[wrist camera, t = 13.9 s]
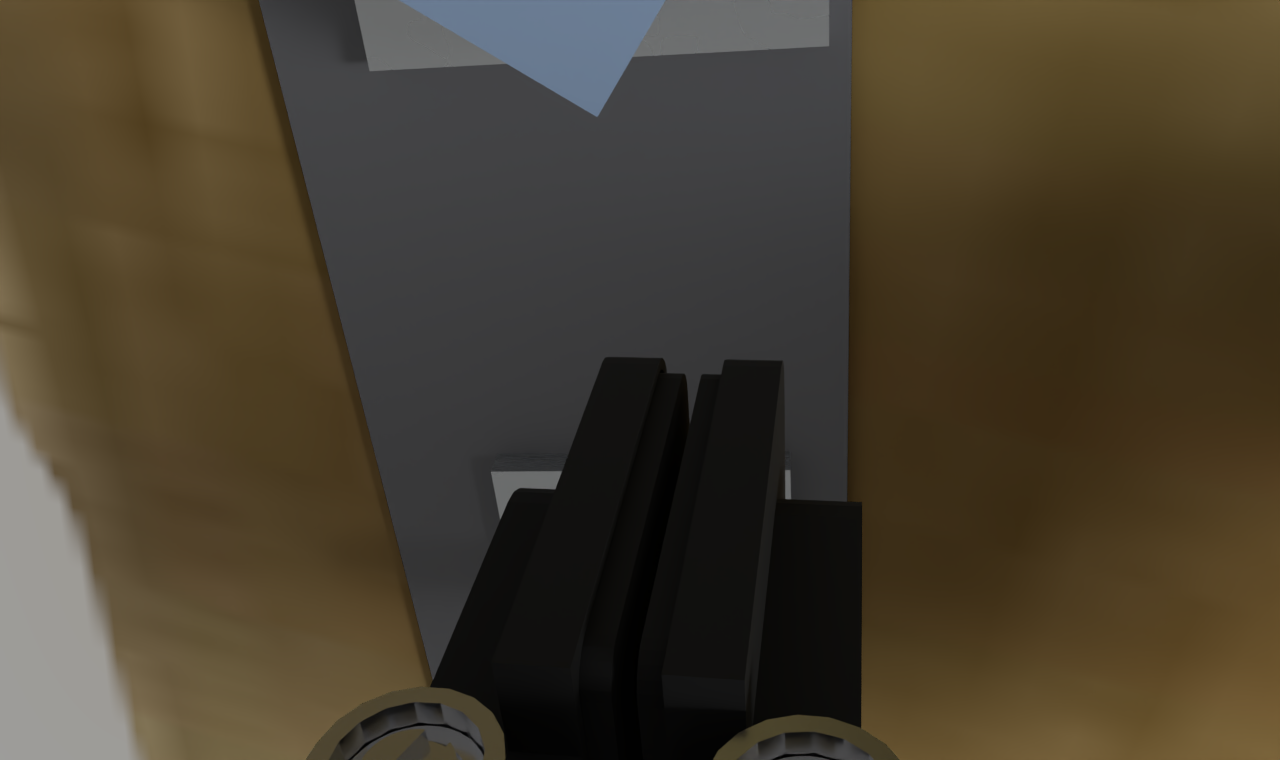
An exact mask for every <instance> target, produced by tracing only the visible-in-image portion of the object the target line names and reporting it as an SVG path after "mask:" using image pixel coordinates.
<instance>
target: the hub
mask: <svg viewBox="0 0 1280 760" xmlns="http://www.w3.org/2000/svg"><path fill="white" fill-rule="evenodd" d="M355 5H356V10H357V14H358V19H359V24H360V29H361V33H362V38H363V43H364V47H365V52H366V57H367V61H368V66H369V71H383V70H402V69H420V68H438V67H457V66H475V65H493V64H506V63H505V62H503V61H501V60H499V59H498V58H496V57H494V56H493V55H491V54H489V53H488V52H486V51H484V50H483V49H481V48H479V47H477V46H476V45H474V44H472V43H471V42H469V41H467V40H466V39H464V38H462V37H460V36H459V35H457V34H455V33H454V32H452V31H450V30H449V29H447V28H445V27H444V26H442V25H440V24H438V23H437V22H435V21H433V20H432V19H430V18H428V17H427V16H425V15H423V14H421V13H420V12H418V11H416V10H415V9H413V8H411V7H410V6H408V5H406V4H405V3H403V2H401V1H399V0H355ZM823 46H829V0H665V2H664V4H663V5H662V7H661V9H660V10H659V12H658V14H657V16H656V17H655V19H654V21H653V22H652V24H651V26H650V28H649V29H648V31H647V33H646V34H645V36H644V38H643V40H642V41H641V43H640V45H639V46H638V48H637V50H636V52H635V53H634V55H633V57H640V56H658V55H677V54H695V53H713V52H732V51H750V50H768V49H787V48H805V47H823Z"/></svg>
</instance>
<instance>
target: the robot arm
mask: <svg viewBox="0 0 1280 760" xmlns="http://www.w3.org/2000/svg"><path fill="white" fill-rule="evenodd" d="M861 638H862V502H844V501H820V500H797V499H785V387H784V363H783V360H737V359H726V360H724V364H723V368H722V373H721V374H702V375H701V378H700V382H699V386H698V391H697V395H696V400H695V404H694V408H693V413H692V417H691V422H690V420H689V403H688V388H687V379H686V375H685V374H684V373H667V369H666V364H665V361H664V359H663V358H643V357H605V358H604V360H603V362H602V364H601V367H600V370H599V372H598V375H597V378H596V381H595V383H594V386H593V389H592V391H591V394H590V397H589V400H588V402H587V405H586V408H585V410H584V413H583V416H582V419H581V421H580V424H579V427H578V429H577V432H576V435H575V437H574V440H573V443H572V446H571V448H570V451H569V454H568V456H567V459H566V462H565V465H564V467H563V470H562V473H561V475H560V478H559V481H558V483H557V486H556V489H536V488H519V489H517V490H515V491H514V492H513V494H512V495H511V497H510V499H509V501H508V503H507V505H506V507H505V510H504V512H503V515H502V517H501V519H500V522H499V524H498V526H497V529H496V531H495V534H494V536H493V538H492V541H491V543H490V546H489V548H488V550H487V553H486V555H485V557H484V560H483V562H482V565H481V567H480V569H479V572H478V574H477V577H476V579H475V581H474V584H473V586H472V588H471V591H470V593H469V596H468V598H467V600H466V603H465V605H464V608H463V610H462V612H461V615H460V617H459V619H458V622H457V624H456V627H455V629H454V631H453V634H452V636H451V638H450V641H449V643H448V646H447V648H446V650H445V653H444V655H443V658H442V660H441V662H440V665H439V667H438V669H437V672H436V674H435V677H434V679H433V681H432V684H431V686H430V687H417V688H411V689H405V690H399V691H393V692H390V693H387V694H385V695H382V696H380V697H377V698H375V699H372V700H370V701H367V702H365V703H362V704H361V705H359V706H358V707H357V708H355V709H354V710H352V711H351V712H349V713H348V714H346V715H345V716H343V717H342V718H340V719H339V720H337V721H336V722H335V724H334V725H333V726H332V727H331V728H330V729H329V730H328V731H327V732H326V734H325V735H324V736H323V737H322V738H321V739H320V740H319V741H318V742H317V744H316V745H315V747H314V748H313V749H312V751H311V752H310V754H309V755H308V757H307V758H306V760H899V759H898V758H897V756H896V755H895V754H894V753H893V752H892V751H891V750H890V748H889V747H888V746H887V745H886V744H885V743H883V742H882V741H880V740H878V739H877V738H875V737H874V736H872V735H871V734H869V733H868V732H866V731H864V730H863V729H861Z"/></svg>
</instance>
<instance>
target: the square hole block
mask: <svg viewBox="0 0 1280 760" xmlns="http://www.w3.org/2000/svg"><path fill="white" fill-rule="evenodd" d="M399 1H401V2H403V3H405V4H406V5H408V6H410V7H411V8H413V9H415V10H416V11H418V12H420V13H421V14H423V15H425V16H427V17H428V18H430V19H432V20H433V21H435V22H437V23H438V24H440V25H442V26H444V27H445V28H447V29H449V30H450V31H452V32H454V33H455V34H457V35H459V36H460V37H462V38H464V39H466V40H467V41H469V42H471V43H472V44H474V45H476V46H477V47H479V48H481V49H483V50H484V51H486V52H488V53H489V54H491V55H493V56H494V57H496V58H498V59H499V60H501V61H503V62H505V63H506V64H508V65H510V66H511V67H513V68H515V69H516V70H518V71H520V72H522V73H523V74H525V75H527V76H528V77H530V78H532V79H533V80H535V81H537V82H538V83H540V84H542V85H544V86H545V87H547V88H549V89H550V90H552V91H554V92H555V93H557V94H559V95H561V96H562V97H564V98H566V99H567V100H569V101H571V102H572V103H574V104H576V105H577V106H579V107H581V108H583V109H584V110H586V111H588V112H589V113H591V114H593V115H594V116H596V117H598V115H599V113H600V112H601V110H602V108H603V107H604V105H605V103H606V101H607V100H608V98H609V96H610V95H611V93H612V91H613V89H614V88H615V86H616V84H617V83H618V81H619V79H620V77H621V76H622V74H623V72H624V71H625V69H626V67H627V65H628V64H629V62H630V60H631V59H632V57H633V55H634V53H635V52H636V50H637V48H638V46H639V45H640V43H641V41H642V40H643V38H644V36H645V34H646V33H647V31H648V29H649V28H650V26H651V24H652V22H653V21H654V19H655V17H656V16H657V14H658V12H659V10H660V9H661V7H662V5H663V4H664V2H665V0H399Z"/></svg>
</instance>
